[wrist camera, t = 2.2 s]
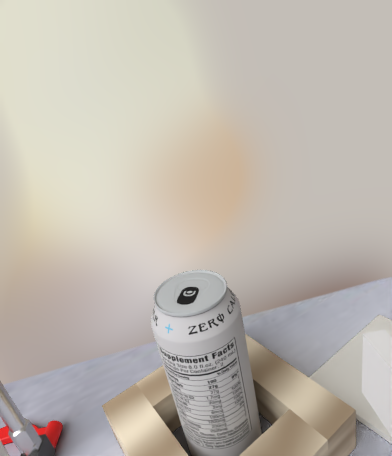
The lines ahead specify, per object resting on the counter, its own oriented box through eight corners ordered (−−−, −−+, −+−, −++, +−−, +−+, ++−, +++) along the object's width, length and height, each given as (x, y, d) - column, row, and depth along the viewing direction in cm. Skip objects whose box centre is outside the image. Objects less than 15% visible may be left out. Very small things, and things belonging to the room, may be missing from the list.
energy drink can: (266, 412, 29) (242, 264, 24) (259, 488, 24) (227, 321, 18) (200, 405, 31) (163, 266, 26) (180, 474, 26) (128, 319, 20)
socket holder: (355, 446, 26) (355, 409, 24) (210, 615, 19) (197, 580, 17) (233, 351, 37) (228, 321, 35) (115, 437, 30) (101, 405, 28)
